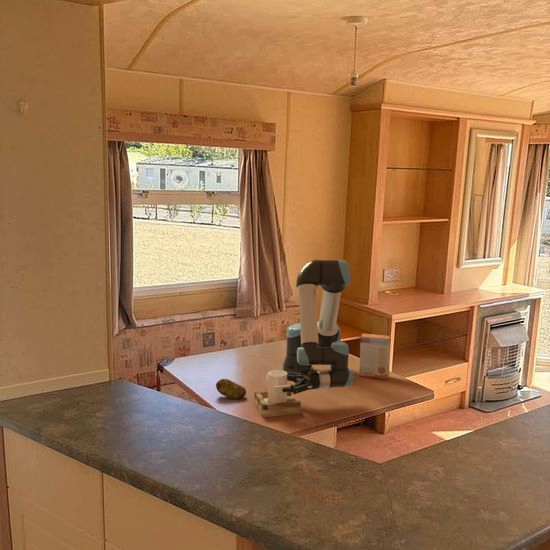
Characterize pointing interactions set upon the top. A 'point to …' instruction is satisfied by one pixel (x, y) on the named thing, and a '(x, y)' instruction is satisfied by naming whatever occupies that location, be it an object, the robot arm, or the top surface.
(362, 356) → the cracker box
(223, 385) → the potato
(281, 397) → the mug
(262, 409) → the display stand
